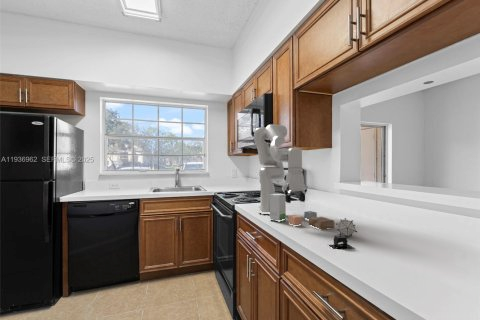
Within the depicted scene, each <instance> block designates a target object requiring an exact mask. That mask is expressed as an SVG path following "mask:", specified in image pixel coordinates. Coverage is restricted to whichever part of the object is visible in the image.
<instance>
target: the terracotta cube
mask: <svg viewBox="0 0 480 320" xmlns="http://www.w3.org/2000/svg"><path fill="white" fill-rule="evenodd" d="M302 218H303V217H302V216H301V215H296V214H292V215H288V222H287V224H288V223H290V224H293V225H299V224H302V223H303V219H302Z"/></svg>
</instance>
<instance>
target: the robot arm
mask: <svg viewBox="0 0 480 320" xmlns="http://www.w3.org/2000/svg"><path fill="white" fill-rule="evenodd" d="M287 135H288V128H287V127H286V126H285V125H284V124H273V123H272V124H271V123H270V124H268V125H267V126H266V127H262V126H261V127H257V128H256V129H255V130H254V131H253V140H254V143H255V146H256V148H257V153H258V161H259V164H260V165H261V166H263V167H261V168H260V169H259V171H258V172H259V173H258V175H259V181H260V206H259V207H258V208H259V211H260V210H261V211H262V212H270V194H276V193H275V192H276V191H275V188H276V187H275V184H274V183H273V182H275V181H278V182H279V181H283V180H284V179H285V185H282V187H281V189H282V193H283V194H285V202H286V203H287V204H291V202H292V200H291V199H292V196H291V194H292V192H293V193H294V192H299V193H300V194H299V202H303V203H304V202H305V201H306V198H305V197H306V194H307V192H308V188H309V186H308V185H307V184H305V178H304V173H303V171H304V169H303V151H302V149H301V148H300V147H290V148H279V147H282V145H283V144H284V143H285V141H286V139H285V138H286V137H287ZM265 140H267V141H270V145H269V144H268V143H267V142H266V141H265ZM283 163H287V173H286V175H285V169H284V164H283Z"/></svg>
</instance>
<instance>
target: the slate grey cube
mask: <svg viewBox="0 0 480 320" xmlns="http://www.w3.org/2000/svg"><path fill="white" fill-rule="evenodd" d="M303 214H304V215H303V216H304V218H307V219H309V218H314V217H318V215H317V214H318V212H316V211H313V210H312V211H311V210H308V211H304V213H303ZM304 218H303V219H304Z"/></svg>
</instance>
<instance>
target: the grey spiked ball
mask: <svg viewBox="0 0 480 320" xmlns="http://www.w3.org/2000/svg"><path fill="white" fill-rule="evenodd" d="M335 225H337V229H336V231H339V235H343V236H345V237H347V239H348V238H349V236H351V237H352V236H353V234H354V233H355V232H356V233H358V231H357V230H356V228H355V226H356V224H354V220H353V219H352V220H349V219H347V217H344V219H341V218H340V220H339V222H338V223H335Z"/></svg>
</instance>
